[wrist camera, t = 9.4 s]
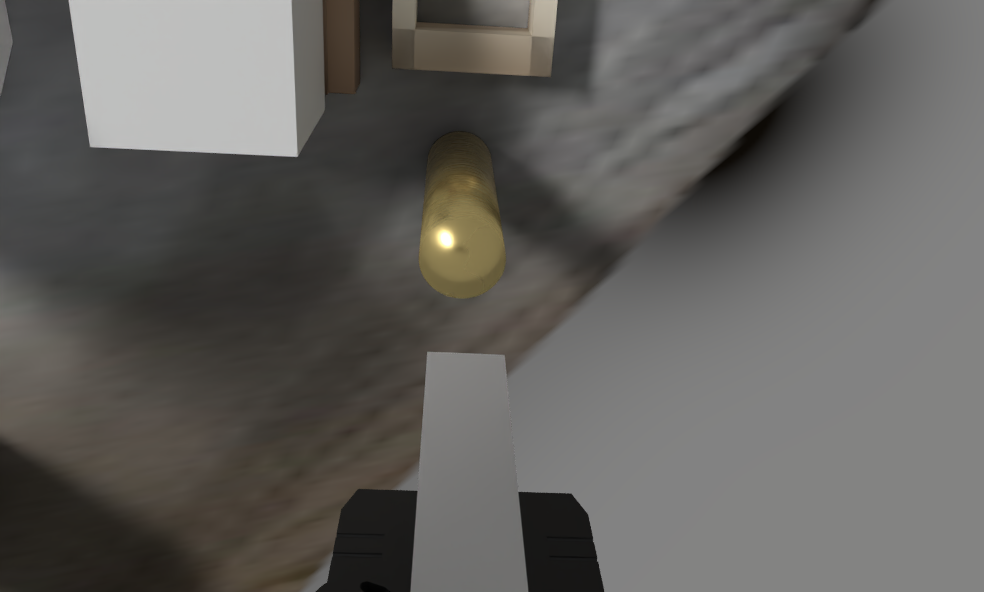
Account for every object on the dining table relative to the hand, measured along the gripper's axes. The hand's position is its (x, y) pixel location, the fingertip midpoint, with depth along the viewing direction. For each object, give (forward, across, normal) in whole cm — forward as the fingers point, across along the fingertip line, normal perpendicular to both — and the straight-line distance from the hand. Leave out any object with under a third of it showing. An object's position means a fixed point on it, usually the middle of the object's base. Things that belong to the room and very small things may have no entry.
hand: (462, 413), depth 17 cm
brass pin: (+19, 0, 0) cm, 19 cm away
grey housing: (+16, -8, +6) cm, 19 cm away
